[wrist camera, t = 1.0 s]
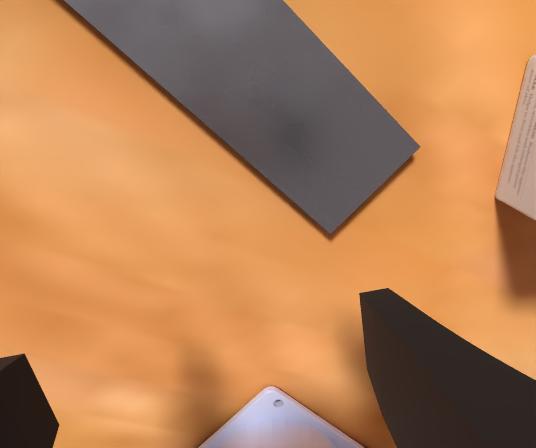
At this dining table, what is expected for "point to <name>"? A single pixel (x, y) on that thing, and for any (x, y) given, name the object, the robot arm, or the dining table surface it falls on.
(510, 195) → the skincare box
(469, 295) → the dining table surface
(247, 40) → the carrier plate
